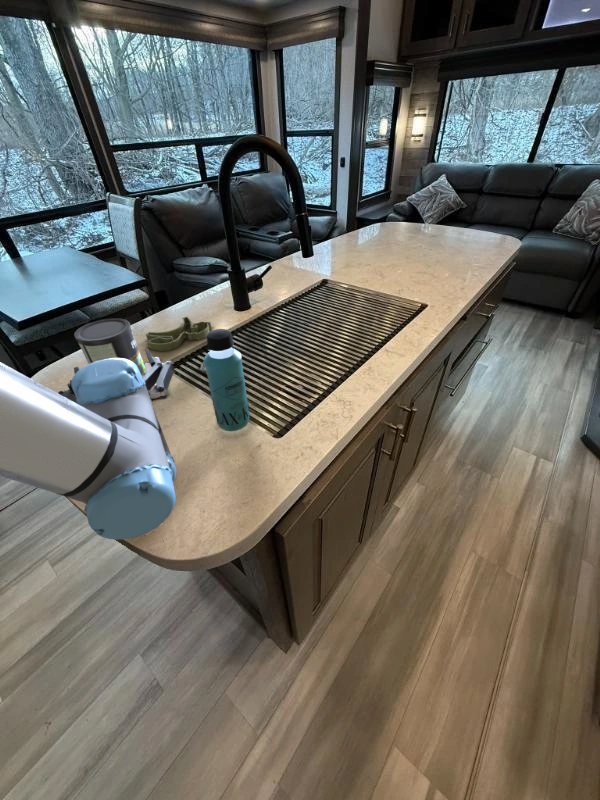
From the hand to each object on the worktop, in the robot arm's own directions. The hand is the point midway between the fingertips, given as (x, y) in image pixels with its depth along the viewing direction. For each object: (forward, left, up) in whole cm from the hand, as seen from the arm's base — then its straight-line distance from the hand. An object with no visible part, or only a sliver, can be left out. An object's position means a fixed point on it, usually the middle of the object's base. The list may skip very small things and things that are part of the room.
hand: (114, 363), depth 70 cm
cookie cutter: (+15, +21, -7) cm, 27 cm away
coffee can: (0, +2, -7) cm, 7 cm away
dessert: (+21, +1, -7) cm, 22 cm away
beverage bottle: (+19, -22, -7) cm, 30 cm away
